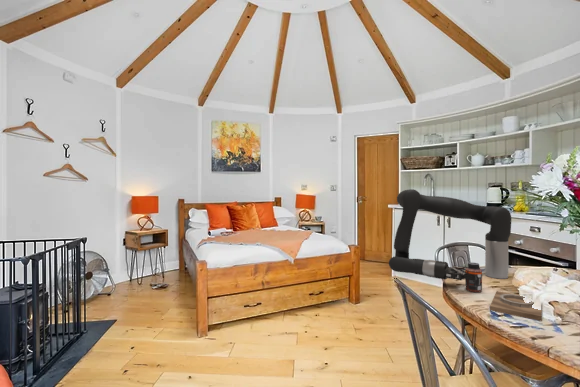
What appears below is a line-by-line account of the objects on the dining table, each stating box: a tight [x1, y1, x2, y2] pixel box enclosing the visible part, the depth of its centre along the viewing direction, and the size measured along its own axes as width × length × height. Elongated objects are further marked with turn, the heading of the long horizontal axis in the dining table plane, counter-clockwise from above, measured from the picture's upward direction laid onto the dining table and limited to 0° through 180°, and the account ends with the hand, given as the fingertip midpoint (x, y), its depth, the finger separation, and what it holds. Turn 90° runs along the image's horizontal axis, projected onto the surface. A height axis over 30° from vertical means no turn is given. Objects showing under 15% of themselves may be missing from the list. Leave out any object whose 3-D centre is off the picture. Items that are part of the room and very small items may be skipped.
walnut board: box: [489, 290, 543, 322], centre depth 112 cm, size 20×14×3 cm
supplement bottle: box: [464, 261, 483, 293], centre depth 129 cm, size 6×6×11 cm
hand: (477, 275), depth 128 cm, fingers open, 8 cm apart
